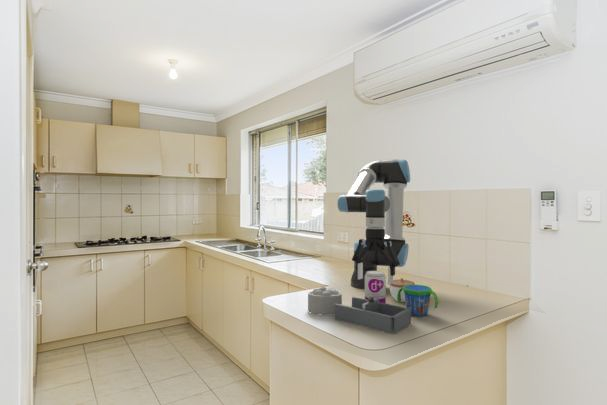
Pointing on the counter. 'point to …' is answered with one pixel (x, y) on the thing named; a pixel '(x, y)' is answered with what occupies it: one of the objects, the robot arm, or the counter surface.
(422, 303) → the snack cup
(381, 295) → the supplement can
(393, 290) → the lidded jar
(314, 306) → the lumpy-topped squat cylinder
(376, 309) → the pusher
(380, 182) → the robot arm
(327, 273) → the counter surface
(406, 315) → the gray storage bin
